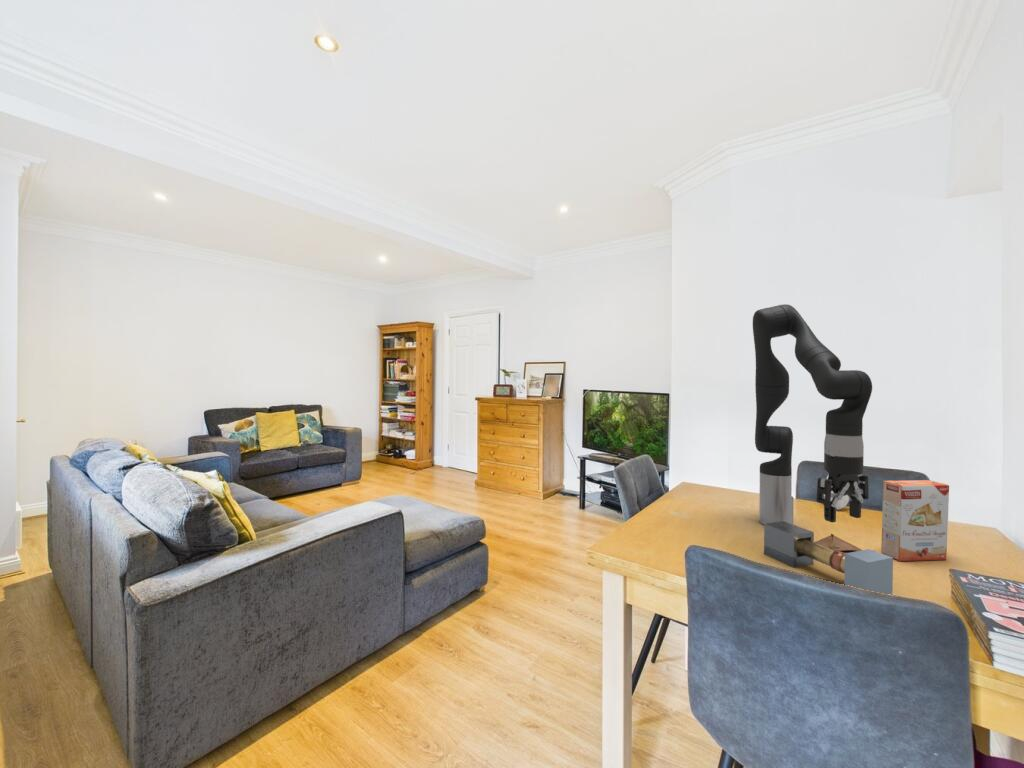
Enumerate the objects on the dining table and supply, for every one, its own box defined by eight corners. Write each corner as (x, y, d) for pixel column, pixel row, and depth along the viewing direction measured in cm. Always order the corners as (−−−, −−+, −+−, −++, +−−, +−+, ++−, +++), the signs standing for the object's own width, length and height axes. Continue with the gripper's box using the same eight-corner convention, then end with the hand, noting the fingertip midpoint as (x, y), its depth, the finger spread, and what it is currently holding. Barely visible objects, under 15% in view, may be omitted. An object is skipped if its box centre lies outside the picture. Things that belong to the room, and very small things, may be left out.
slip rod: (801, 550, 116) (801, 534, 116) (879, 583, 98) (880, 563, 98) (788, 553, 114) (788, 536, 114) (865, 586, 96) (866, 566, 96)
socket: (868, 586, 102) (868, 549, 101) (892, 596, 97) (893, 557, 97) (844, 591, 99) (844, 553, 99) (867, 602, 94) (868, 562, 94)
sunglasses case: (804, 543, 127) (816, 524, 127) (824, 555, 127) (836, 536, 127) (853, 571, 109) (867, 549, 109) (876, 585, 109) (890, 563, 109)
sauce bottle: (821, 508, 160) (821, 461, 160) (826, 504, 166) (826, 458, 165) (847, 513, 155) (847, 464, 154) (851, 509, 160) (851, 461, 160)
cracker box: (901, 562, 114) (902, 485, 114) (880, 553, 120) (881, 479, 120) (949, 560, 115) (950, 484, 115) (926, 551, 121) (927, 478, 121)
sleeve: (782, 550, 122) (783, 521, 122) (813, 563, 114) (813, 531, 114) (764, 553, 120) (764, 523, 120) (793, 567, 112) (794, 535, 112)
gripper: (847, 448, 109) (847, 511, 109) (806, 452, 104) (806, 517, 105) (881, 453, 102) (880, 520, 102) (838, 457, 97) (837, 528, 98)
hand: (842, 519), depth 103 cm, fingers open, 8 cm apart
